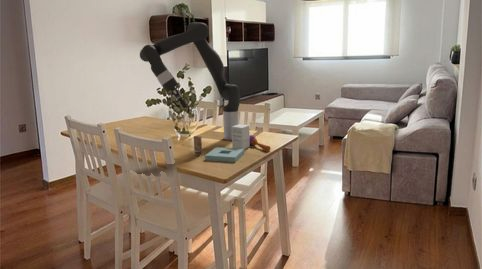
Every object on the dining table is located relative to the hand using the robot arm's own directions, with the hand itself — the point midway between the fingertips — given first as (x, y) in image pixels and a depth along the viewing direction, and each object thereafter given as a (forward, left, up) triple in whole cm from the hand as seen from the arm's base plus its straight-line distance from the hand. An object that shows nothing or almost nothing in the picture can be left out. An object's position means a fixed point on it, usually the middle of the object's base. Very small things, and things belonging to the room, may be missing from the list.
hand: (185, 106), depth 202 cm
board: (0, +21, -25) cm, 33 cm away
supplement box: (-19, +24, -26) cm, 40 cm away
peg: (0, +6, -26) cm, 26 cm away
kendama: (-21, +33, -26) cm, 47 cm away
